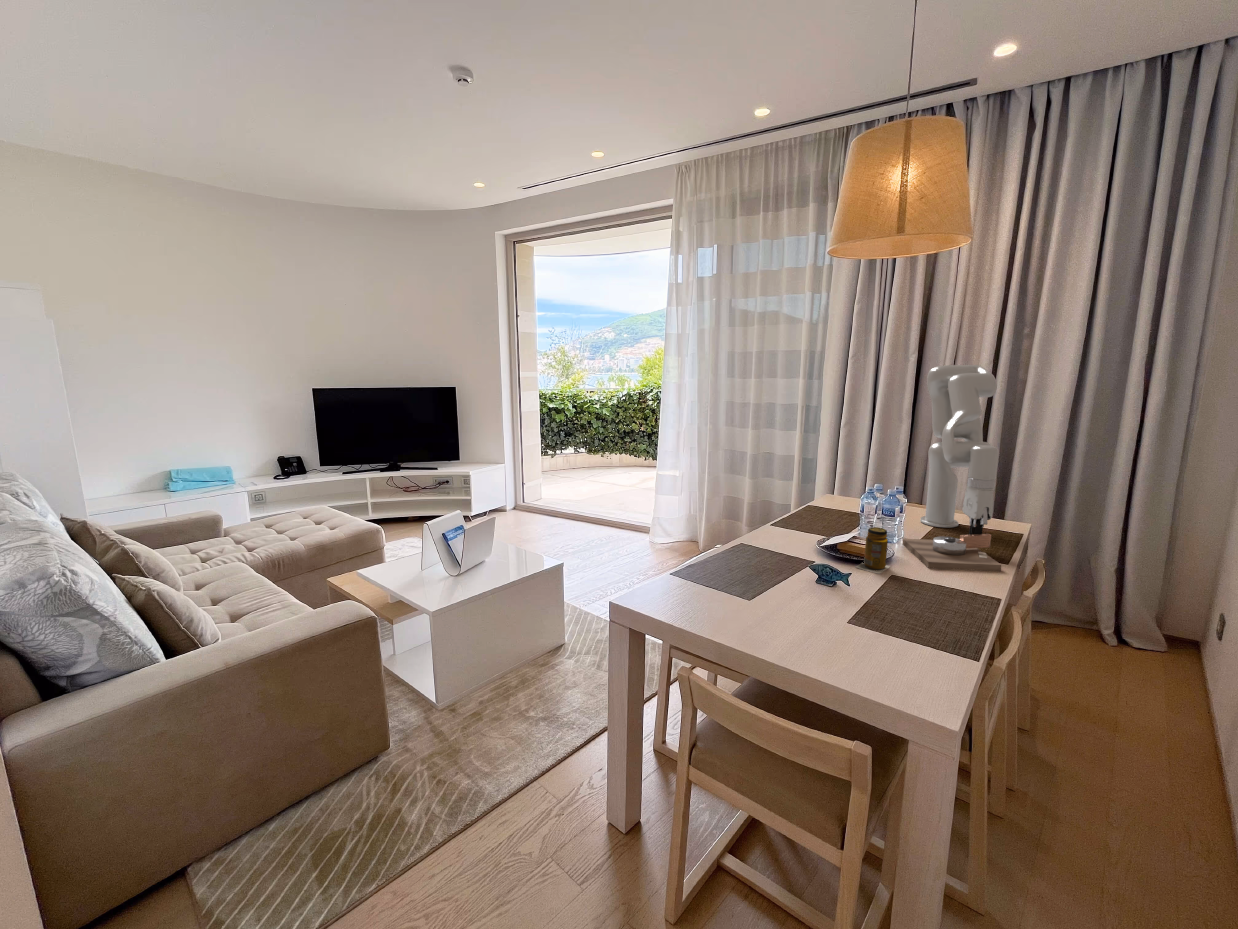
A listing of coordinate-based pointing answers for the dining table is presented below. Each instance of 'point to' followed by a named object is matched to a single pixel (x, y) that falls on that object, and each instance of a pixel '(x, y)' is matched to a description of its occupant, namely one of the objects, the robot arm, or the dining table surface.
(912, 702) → the dining table surface
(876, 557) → the condiment
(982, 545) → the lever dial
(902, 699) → the dining table surface
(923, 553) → the wooden cutting board
